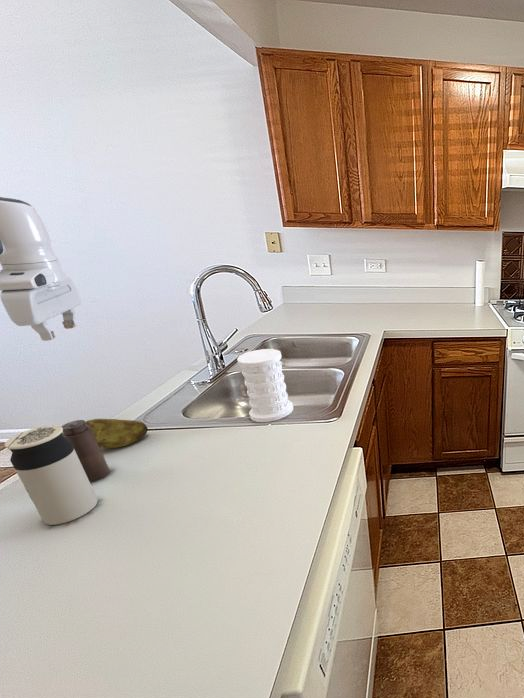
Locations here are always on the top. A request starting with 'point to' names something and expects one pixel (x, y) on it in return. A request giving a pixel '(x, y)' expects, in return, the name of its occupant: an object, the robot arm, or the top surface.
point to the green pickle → (117, 432)
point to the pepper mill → (86, 449)
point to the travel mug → (52, 474)
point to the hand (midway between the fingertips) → (60, 333)
